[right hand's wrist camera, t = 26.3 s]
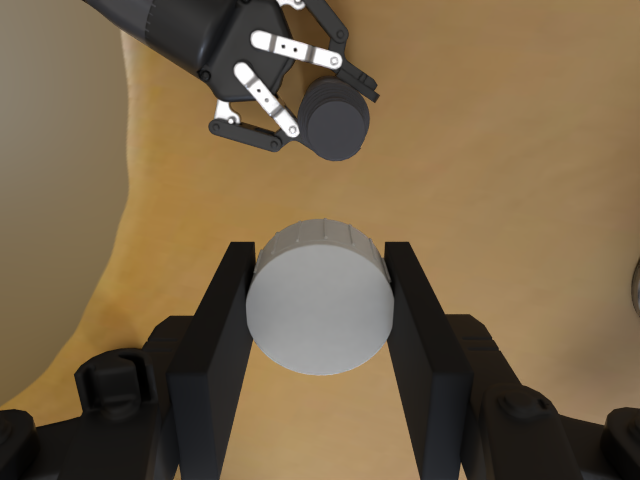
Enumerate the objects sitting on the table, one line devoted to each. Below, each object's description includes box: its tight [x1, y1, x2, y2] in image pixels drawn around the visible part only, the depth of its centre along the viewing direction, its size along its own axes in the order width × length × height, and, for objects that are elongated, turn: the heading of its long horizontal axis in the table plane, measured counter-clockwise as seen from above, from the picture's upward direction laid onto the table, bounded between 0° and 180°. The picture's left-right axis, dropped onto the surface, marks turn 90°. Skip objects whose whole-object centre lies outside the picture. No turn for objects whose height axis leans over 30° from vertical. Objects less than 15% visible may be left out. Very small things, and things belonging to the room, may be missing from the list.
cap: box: [246, 218, 394, 375], centre depth 14 cm, size 4×4×2 cm
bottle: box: [297, 76, 370, 161], centre depth 33 cm, size 4×4×20 cm
